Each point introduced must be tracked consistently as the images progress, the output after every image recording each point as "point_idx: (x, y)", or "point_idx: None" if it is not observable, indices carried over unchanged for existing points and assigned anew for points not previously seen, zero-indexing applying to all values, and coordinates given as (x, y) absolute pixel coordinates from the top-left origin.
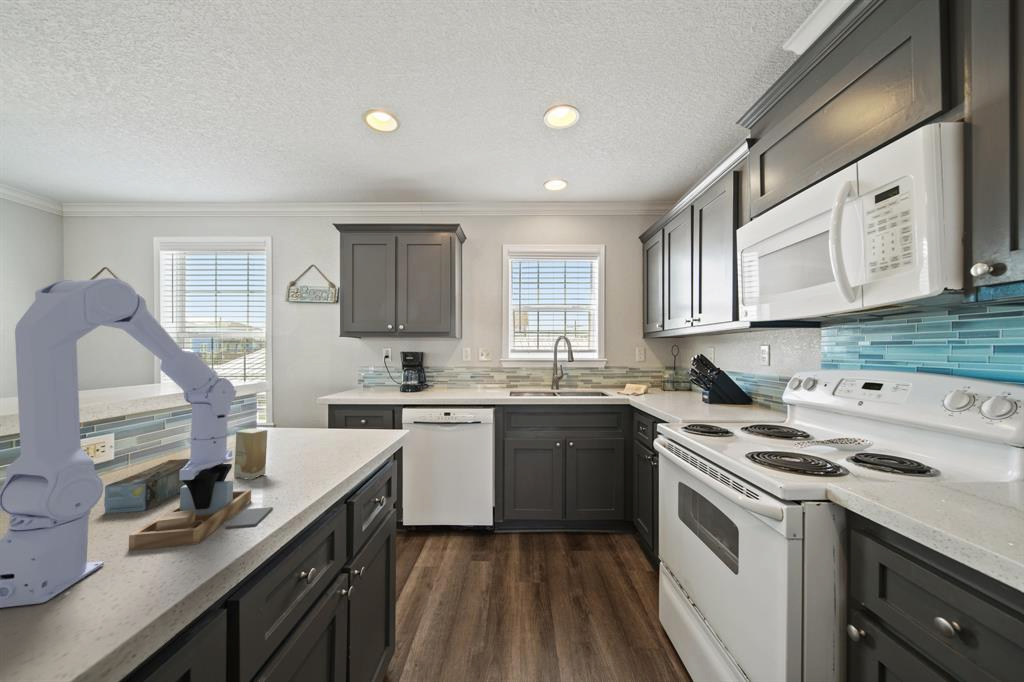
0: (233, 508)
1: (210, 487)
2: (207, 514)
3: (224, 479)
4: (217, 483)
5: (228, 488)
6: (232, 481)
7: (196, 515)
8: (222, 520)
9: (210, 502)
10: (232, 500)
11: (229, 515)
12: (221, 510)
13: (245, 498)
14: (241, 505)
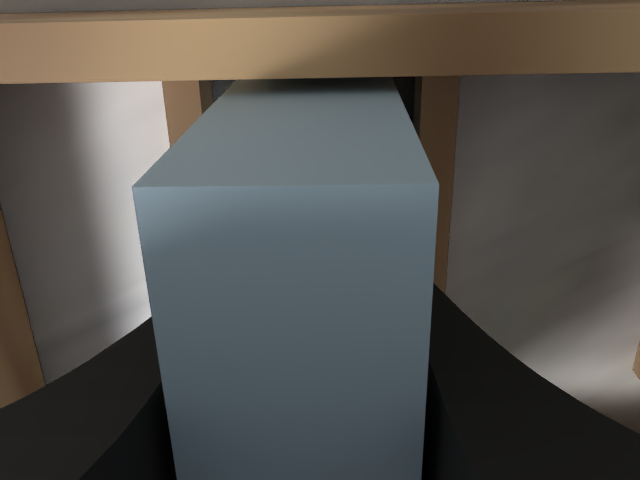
0: (357, 9)
1: (582, 410)
2: None
3: (41, 402)
4: (293, 410)
5: (360, 151)
6: (168, 187)
7: None
8: (618, 1)
9: None
10: (229, 93)
11: (451, 4)
12: (623, 46)
13: (14, 18)
14: (143, 12)
